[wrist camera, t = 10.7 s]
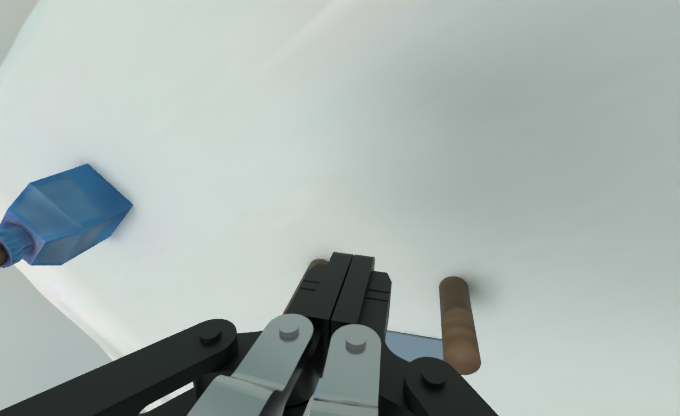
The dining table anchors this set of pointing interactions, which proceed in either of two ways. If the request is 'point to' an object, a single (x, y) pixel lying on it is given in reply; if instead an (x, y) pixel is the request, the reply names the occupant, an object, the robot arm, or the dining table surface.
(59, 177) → the perfume bottle
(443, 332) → the post
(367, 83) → the dining table surface
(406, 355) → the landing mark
